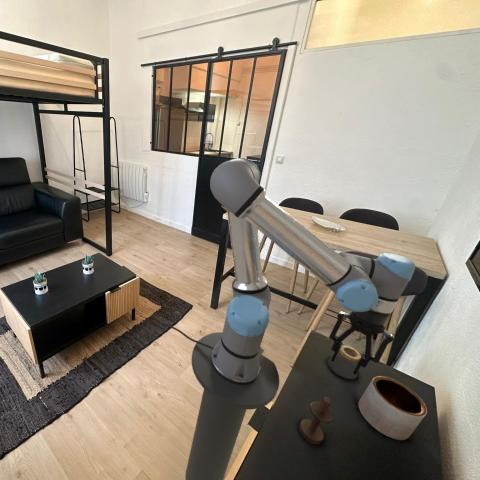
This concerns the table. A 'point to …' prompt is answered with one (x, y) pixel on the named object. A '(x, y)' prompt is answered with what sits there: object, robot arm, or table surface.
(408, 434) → the planter
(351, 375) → the rubber pad
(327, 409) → the brown wooden peg stand
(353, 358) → the brass ring
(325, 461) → the table surface
